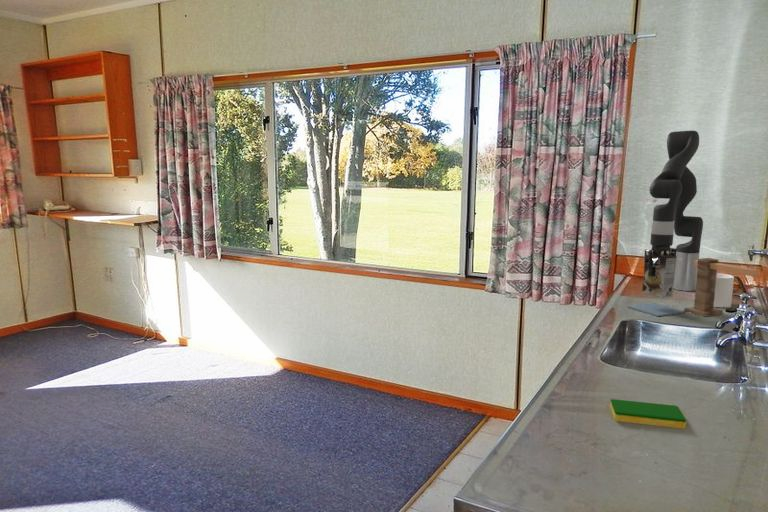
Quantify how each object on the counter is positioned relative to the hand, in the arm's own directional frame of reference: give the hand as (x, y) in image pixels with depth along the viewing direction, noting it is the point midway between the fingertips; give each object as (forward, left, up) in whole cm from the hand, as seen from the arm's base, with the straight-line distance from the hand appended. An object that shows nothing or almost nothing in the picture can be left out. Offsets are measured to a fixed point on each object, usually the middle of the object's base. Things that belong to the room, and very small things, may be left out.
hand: (658, 275), depth 198 cm
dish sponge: (+76, +65, -14) cm, 101 cm away
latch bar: (-14, +16, +4) cm, 21 cm away
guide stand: (-14, +9, -14) cm, 22 cm away
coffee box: (0, 0, -8) cm, 8 cm away
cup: (-29, +2, -14) cm, 32 cm away
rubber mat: (0, 0, -14) cm, 14 cm away
